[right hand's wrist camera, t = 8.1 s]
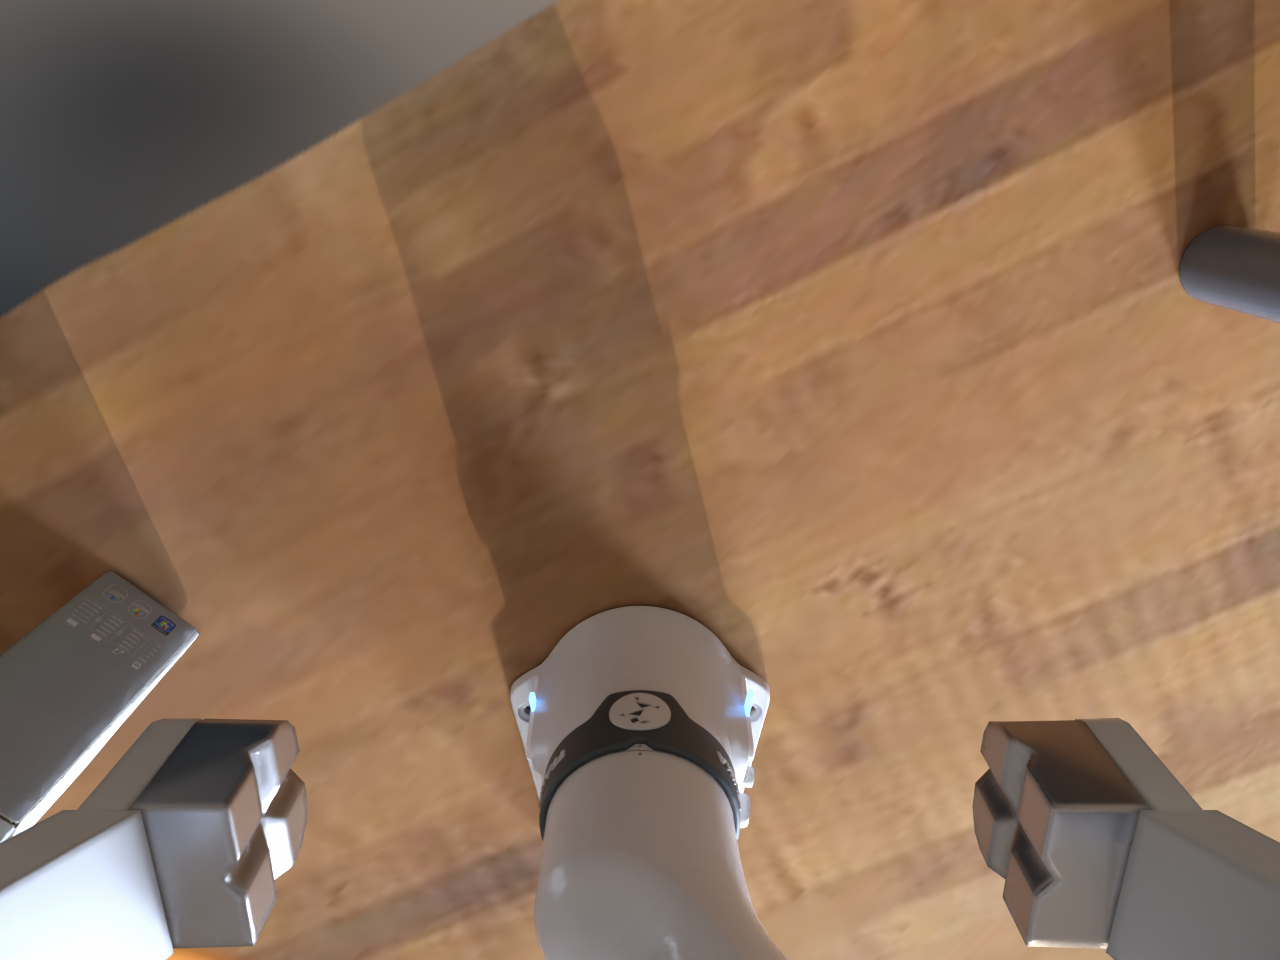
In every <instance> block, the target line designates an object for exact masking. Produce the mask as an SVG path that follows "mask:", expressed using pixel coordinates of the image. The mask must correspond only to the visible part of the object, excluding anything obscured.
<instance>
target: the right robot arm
mask: <svg viewBox="0 0 1280 960" xmlns="http://www.w3.org/2000/svg"><path fill="white" fill-rule="evenodd" d="M510 701H511V705H512V708H513V712H514V715H515V718H516V722H517V725H518V729H519V732H520V736H521V739H522V743H523V746H524V749H525V753H526V758H527V760H528V763H529V767H530V770H531V774H532V777H533V780H534V784H535V787H536V791H537V794H538V798H539V808H541V809H540V831H541V837H542V840H543V847H542V854H541V861H540V868H539V876H538V883H537V891H536V898H535V905H534V925H535V932H536V937H537V940H538V944H539V947H540V950H541V952H542V954H543V956H544V958H545V960H789V959H788V958H787V957H786V956H785V955H784V954H783V952H782V951H781V950H780V949H779V948H778V947H777V945H776V944H775V943H774V941H773V940H772V939H771V938H770V936H769V935H768V933H767V932H766V930H765V929H764V927H763V926H762V924H761V923H760V921H759V919H758V917H757V915H756V913H755V911H754V909H753V906H752V904H751V900H750V897H749V893H748V890H747V886H746V882H745V878H744V874H743V870H742V865H741V860H740V855H739V850H738V845H737V840H738V837H739V831H740V828H744V827H747V825H748V822H749V817H750V797H749V795H747V794H744V793H743V791H744V787H752V785H753V782H754V768H753V767H751V763H752V760H753V758H754V753H755V750H756V746H757V743H758V739H759V736H760V732H761V729H762V725H763V722H764V719H765V715H766V712H767V708H768V705H769V701H770V692H769V686H768V684H767V683H766V682H765V681H764V680H763V679H762V678H761V677H759V676H758V675H756V674H755V673H753V672H752V671H750V670H748V669H746V668H745V667H743V666H741V665H739V664H738V663H737V662H736V661H735V659H734V658H733V657H732V656H731V654H730V653H729V652H728V650H727V649H726V647H725V646H724V645H723V643H722V642H721V641H720V640H719V639H718V638H717V637H716V635H715V634H713V633H712V632H711V631H710V630H709V629H708V628H706V627H705V626H704V625H702V624H701V623H699V622H698V621H696V620H694V619H692V618H690V617H688V616H686V615H684V614H681V613H679V612H676V611H673V610H669V609H665V608H660V607H653V606H627V607H620V608H615V609H611V610H607V611H604V612H601V613H599V614H596V615H594V616H592V617H590V618H588V619H586V620H584V621H582V622H581V623H579V624H578V625H576V626H575V627H574V628H572V629H571V630H570V631H569V632H568V633H567V634H566V635H565V636H564V637H563V638H562V639H561V640H560V641H559V642H558V643H557V645H556V646H555V647H554V649H553V650H552V652H551V653H550V654H549V656H548V657H547V658H546V659H545V661H544V662H543V663H542V664H541V665H539V666H537V667H535V668H534V669H532V670H530V671H528V672H527V673H525V674H524V675H522V676H521V677H519V678H518V679H517V680H516V681H515V682H514V683H513V684H512V686H511V693H510ZM527 706H530V707H531V710H529V709H527V708H526V707H527ZM751 706H753V707H754V708H753V709H751ZM298 753H299V746H298V741H297V736H296V731H295V727H294V726H293V725H292V724H291V723H290V722H289V721H287V720H242V719H204V720H202V719H161V720H158V721H155V722H152V723H151V724H150V725H149V726H148V727H147V728H146V730H145V731H144V732H143V733H142V734H141V736H140V737H139V738H138V739H137V740H136V741H135V743H134V744H133V745H132V746H131V747H130V748H129V750H128V751H127V752H126V753H125V754H124V755H123V757H122V758H121V759H120V760H119V761H118V763H117V764H116V765H115V766H114V767H113V768H112V770H111V771H110V772H109V773H108V774H107V775H106V777H105V778H104V779H103V780H102V781H101V782H100V784H99V785H98V786H97V787H96V788H95V789H94V791H93V792H92V793H91V794H90V795H89V797H88V798H87V799H86V800H85V801H84V802H83V804H82V805H81V806H80V807H79V808H78V809H77V810H63V811H61V812H59V813H57V814H55V815H53V816H51V817H49V818H47V819H45V820H43V821H41V822H39V823H37V824H36V825H34V826H32V827H30V828H28V829H26V830H24V831H22V832H20V833H18V834H16V835H14V836H12V837H11V838H9V839H7V840H5V841H3V842H1V843H0V960H166V959H167V958H168V957H169V956H171V955H172V954H173V952H174V951H173V948H204V947H238V946H254V944H255V942H256V940H257V938H258V936H259V934H260V932H261V930H262V928H263V926H264V924H265V922H266V920H267V918H268V915H269V913H270V911H271V909H272V907H273V905H274V903H275V901H276V899H277V892H276V886H275V880H274V879H276V878H277V877H278V876H280V875H281V874H282V873H284V872H285V871H287V870H288V869H289V868H291V867H292V866H293V864H294V861H295V859H296V857H297V855H298V853H299V850H300V848H301V845H302V840H303V836H304V831H305V827H306V822H307V797H306V790H305V783H304V782H303V781H302V780H301V779H300V778H299V777H298V776H297V775H296V774H295V773H294V772H293V771H292V770H291V769H290V768H291V766H292V764H293V762H294V760H295V758H296V757H297V755H298ZM981 753H982V755H983V757H984V758H985V760H986V762H987V764H988V766H989V768H990V769H989V770H988V771H987V772H986V773H985V774H984V775H983V776H982V777H981V778H980V779H979V780H978V781H977V782H976V783H975V791H974V800H973V817H974V828H975V834H976V837H977V841H978V844H979V848H980V851H981V853H982V855H983V857H984V859H985V861H986V864H987V866H988V867H989V868H991V869H992V870H993V871H995V872H996V873H998V874H999V875H1000V876H1002V877H1003V878H1004V879H1006V880H1005V886H1004V892H1003V899H1004V901H1005V903H1006V905H1007V907H1008V909H1009V911H1010V913H1011V915H1012V917H1013V919H1014V922H1015V924H1016V926H1017V928H1018V930H1019V932H1020V934H1021V936H1022V938H1023V940H1024V942H1025V944H1026V946H1040V947H1075V948H1107V950H1106V953H1108V954H1109V955H1110V956H1111V957H1112V958H1113V959H1115V960H1280V843H1279V842H1277V841H1275V840H1273V839H1271V838H1269V837H1267V836H1266V835H1264V834H1262V833H1260V832H1258V831H1256V830H1254V829H1252V828H1250V827H1248V826H1246V825H1244V824H1242V823H1241V822H1239V821H1237V820H1235V819H1233V818H1231V817H1229V816H1227V815H1225V814H1223V813H1221V812H1219V811H1217V810H1203V809H1202V808H1201V807H1200V806H1199V805H1198V804H1197V802H1196V801H1195V800H1194V799H1193V798H1192V797H1191V795H1190V794H1189V793H1188V792H1187V791H1186V790H1185V788H1184V787H1183V786H1182V785H1181V784H1180V783H1179V781H1178V780H1177V779H1176V778H1175V777H1174V775H1173V774H1172V773H1171V772H1170V771H1169V770H1168V768H1167V767H1166V766H1165V765H1164V764H1163V763H1162V761H1161V760H1160V759H1159V758H1158V757H1157V756H1156V754H1155V753H1154V752H1153V751H1152V750H1151V749H1150V747H1149V746H1148V745H1147V744H1146V743H1145V742H1144V740H1143V739H1142V738H1141V737H1140V736H1139V734H1138V733H1137V732H1136V731H1135V730H1134V729H1133V727H1132V726H1131V725H1130V724H1129V723H1128V722H1126V721H1123V720H1121V719H1119V718H1103V719H1075V720H1071V721H991V722H989V723H988V725H987V727H986V729H985V731H984V734H983V740H982V745H981Z"/></svg>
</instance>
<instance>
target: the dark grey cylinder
mask: <svg viewBox="0 0 1280 960" xmlns="http://www.w3.org/2000/svg"><path fill="white" fill-rule="evenodd" d="M1179 276H1180V281H1181V284H1182V286H1183V288H1184V290H1185V291H1186V292H1187V293H1188V294H1189V295H1190V296H1191V297H1192V298H1194V299H1196V300H1199V301H1202V302H1205V303H1209V304H1212V305H1216V306H1220V307H1223V308H1227V309H1230V310H1234V311H1237V312H1241V313H1244V314H1248V315H1251V316H1255V317H1258V318H1262V319H1266V320H1269V321H1273V322H1276V323H1280V232H1273V231H1266V230H1259V229H1252V228H1244V227H1237V226H1230V225H1223V226H1217V227H1214V228H1211V229H1209V230H1207V231H1205V232H1203V233H1202V234H1200V235H1199V236H1197V237H1196V238H1195V239H1194V240H1193V241H1192V242H1191V243H1190V245H1189V246H1188V247H1187V249H1186V250H1185V252H1184V254H1183V257H1182V259H1181V263H1180V269H1179Z"/></svg>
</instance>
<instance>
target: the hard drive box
mask: <svg viewBox="0 0 1280 960" xmlns="http://www.w3.org/2000/svg"><path fill="white" fill-rule="evenodd" d="M198 635H199V633H197V632H196V628H195V627H193V626H191V625H190V624H189V623H187V622H186V621H184V620H183V619H181V618H180V617H178V616H177V615H175V614H174V613H172V612H171V611H170V610H168V609H167V608H165V607H164V606H162V605H161V604H159V603H158V602H157V601H155V600H154V599H152V598H151V597H149V596H148V595H146V594H145V593H143V592H142V591H140V590H139V589H138V588H136V587H135V586H133V585H132V584H130V583H129V582H128V581H126V580H125V579H123V578H122V577H120V576H119V575H117V574H116V573H114V572H112V571H107V572H106V573H104V574H103V575H102V576H100V577H99V578H98V579H97V580H95V581H94V582H93V583H91V584H90V585H89V586H87V587H86V588H85V589H84V590H82V591H81V592H80V593H78V594H77V595H76V596H75V597H73V598H72V599H71V600H70V601H68V602H67V603H66V604H65V605H64V606H62V607H61V608H60V609H58V610H57V611H56V612H54V613H53V614H52V615H51V616H49V617H48V618H47V619H46V620H44V621H43V622H42V623H41V624H39V625H38V626H37V627H36V628H34V629H33V630H32V631H31V632H29V633H28V634H27V635H26V636H24V637H23V638H22V639H21V640H19V641H18V642H17V643H16V644H14V645H13V646H12V647H11V648H9V649H8V650H7V651H6V652H4V653H3V654H2V655H1V656H0V843H1V842H3V841H5V840H7V839H9V838H11V837H12V836H14V835H16V834H18V833H20V832H22V831H24V830H26V829H28V828H30V827H32V826H33V825H34V824H35V823H36V822H37V821H38V820H39V819H40V818H41V816H42V815H43V814H44V813H45V812H46V811H47V810H48V809H49V808H50V806H51V805H52V804H53V803H54V802H55V801H56V800H57V799H58V798H59V797H60V795H61V794H62V793H63V792H64V791H65V790H66V789H67V788H68V787H69V785H70V784H71V783H72V782H73V781H74V780H75V779H76V777H77V776H78V775H79V774H80V773H81V772H82V771H83V770H84V768H85V767H86V766H87V765H88V764H89V763H90V761H91V760H92V759H93V758H94V757H95V755H96V754H97V753H98V752H99V751H100V750H101V748H102V747H103V746H104V745H105V743H106V742H107V741H108V740H109V739H110V738H111V736H112V735H113V734H114V733H115V732H116V731H117V729H118V728H119V727H120V726H121V725H122V723H123V722H124V721H125V720H126V719H127V718H128V716H129V715H130V714H131V713H132V712H133V711H134V710H135V708H136V707H137V706H138V705H139V704H140V703H141V701H142V700H143V699H144V698H145V697H146V696H147V694H148V693H149V692H150V691H151V690H152V689H153V688H154V686H155V685H156V684H157V683H158V682H159V681H160V680H161V678H162V677H163V676H164V675H165V674H166V673H167V672H168V670H169V669H170V668H171V667H172V666H173V665H174V663H175V662H176V661H177V660H178V659H179V658H180V657H181V655H182V654H183V653H184V652H185V651H186V650H187V648H188V647H189V646H190V645H191V644H192V642H193V641H194V640H195V639H196V637H197V636H198Z"/></svg>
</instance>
